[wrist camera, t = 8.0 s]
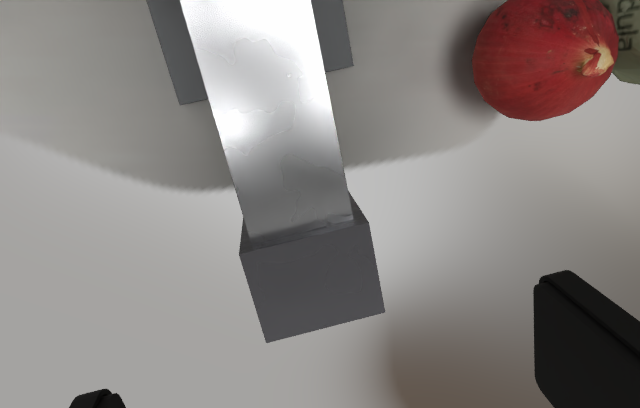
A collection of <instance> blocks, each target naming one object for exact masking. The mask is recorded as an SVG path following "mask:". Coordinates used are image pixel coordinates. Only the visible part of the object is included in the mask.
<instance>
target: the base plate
mask: <svg viewBox="0 0 640 408" xmlns="http://www.w3.org/2000/svg"><path fill="white" fill-rule="evenodd" d="M147 4H148V7H149V10H150V13H151V16H152V19H153V22H154V26H155V29H156V32H157V35H158V38H159V41H160V44H161V47H162V51H163V54H164V57H165V60H166V63H167V66H168V69H169V73H170V76H171V79H172V82H173V85H174V88H175V91H176V94H177V98H178V101H179V104H180V105H183V104H188V103H192V102H196V101H201V100H205V99H209V98H208V95H207V91H206V88H205V85H204V81H203V78H202V74H201V71H200V68H199V64H198V61H197V57H196V54H195V51H194V47H193V44H192V40H191V37H190V34H189V30H188V27H187V23H186V20H185V17H184V13H183V10H182V6H181V3H180V0H147ZM311 5H312V11H313V16H314V21H315V26H316V31H317V36H318V41H319V46H320V51H321V56H322V61H323V66H324V72H329V71H333V70H337V69H342V68H346V67H351V66H354V65H353V59H352V53H351V47H350V41H349V36H348V30H347V24H346V18H345V12H344V7H343V1H342V0H311Z"/></svg>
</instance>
